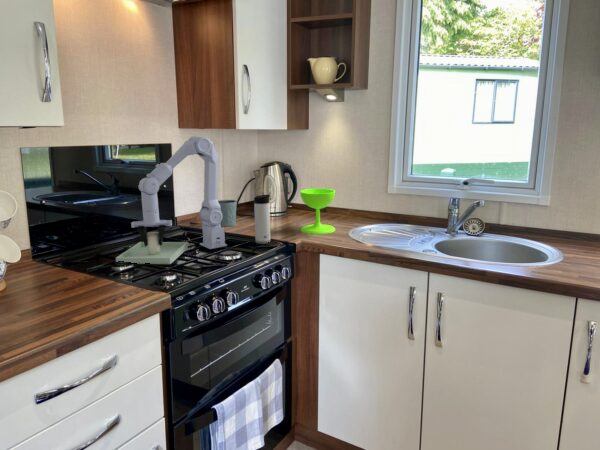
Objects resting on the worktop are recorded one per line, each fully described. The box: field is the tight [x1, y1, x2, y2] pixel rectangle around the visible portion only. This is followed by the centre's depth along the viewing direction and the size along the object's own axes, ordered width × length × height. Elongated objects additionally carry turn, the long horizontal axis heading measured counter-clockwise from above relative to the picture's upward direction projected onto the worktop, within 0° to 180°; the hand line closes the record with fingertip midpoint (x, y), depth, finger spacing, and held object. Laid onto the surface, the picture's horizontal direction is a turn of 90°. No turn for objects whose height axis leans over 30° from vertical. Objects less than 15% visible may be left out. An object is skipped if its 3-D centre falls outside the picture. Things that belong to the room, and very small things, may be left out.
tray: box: [115, 241, 189, 265], centre depth 183 cm, size 22×20×2 cm
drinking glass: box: [217, 199, 238, 228], centre depth 229 cm, size 10×10×12 cm
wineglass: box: [299, 188, 336, 235], centre depth 218 cm, size 16×16×18 cm
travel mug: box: [253, 194, 271, 245], centre depth 198 cm, size 6×7×20 cm
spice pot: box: [146, 231, 160, 255], centre depth 182 cm, size 5×5×8 cm
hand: (153, 245), depth 182 cm, fingers open, 5 cm apart
